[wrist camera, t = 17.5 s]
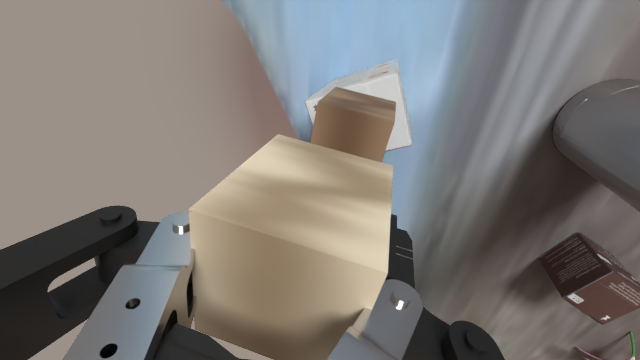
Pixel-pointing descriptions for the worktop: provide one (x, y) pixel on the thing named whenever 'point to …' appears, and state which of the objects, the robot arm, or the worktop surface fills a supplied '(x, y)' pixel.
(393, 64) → the small box
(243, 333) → the maple block
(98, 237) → the robot arm
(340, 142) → the walnut block
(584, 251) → the box
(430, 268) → the worktop surface
